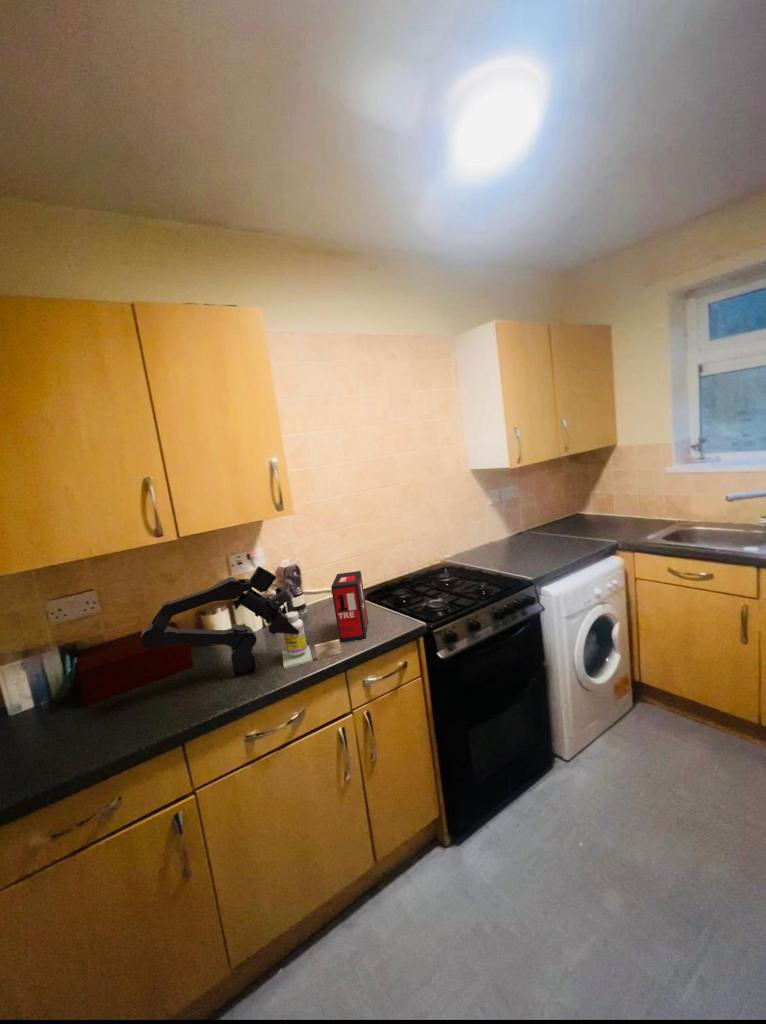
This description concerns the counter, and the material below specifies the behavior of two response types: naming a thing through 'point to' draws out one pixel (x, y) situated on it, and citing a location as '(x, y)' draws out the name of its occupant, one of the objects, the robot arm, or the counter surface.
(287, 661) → the sage board
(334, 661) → the counter surface
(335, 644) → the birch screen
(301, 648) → the supplement bottle
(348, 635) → the cleaning product box
